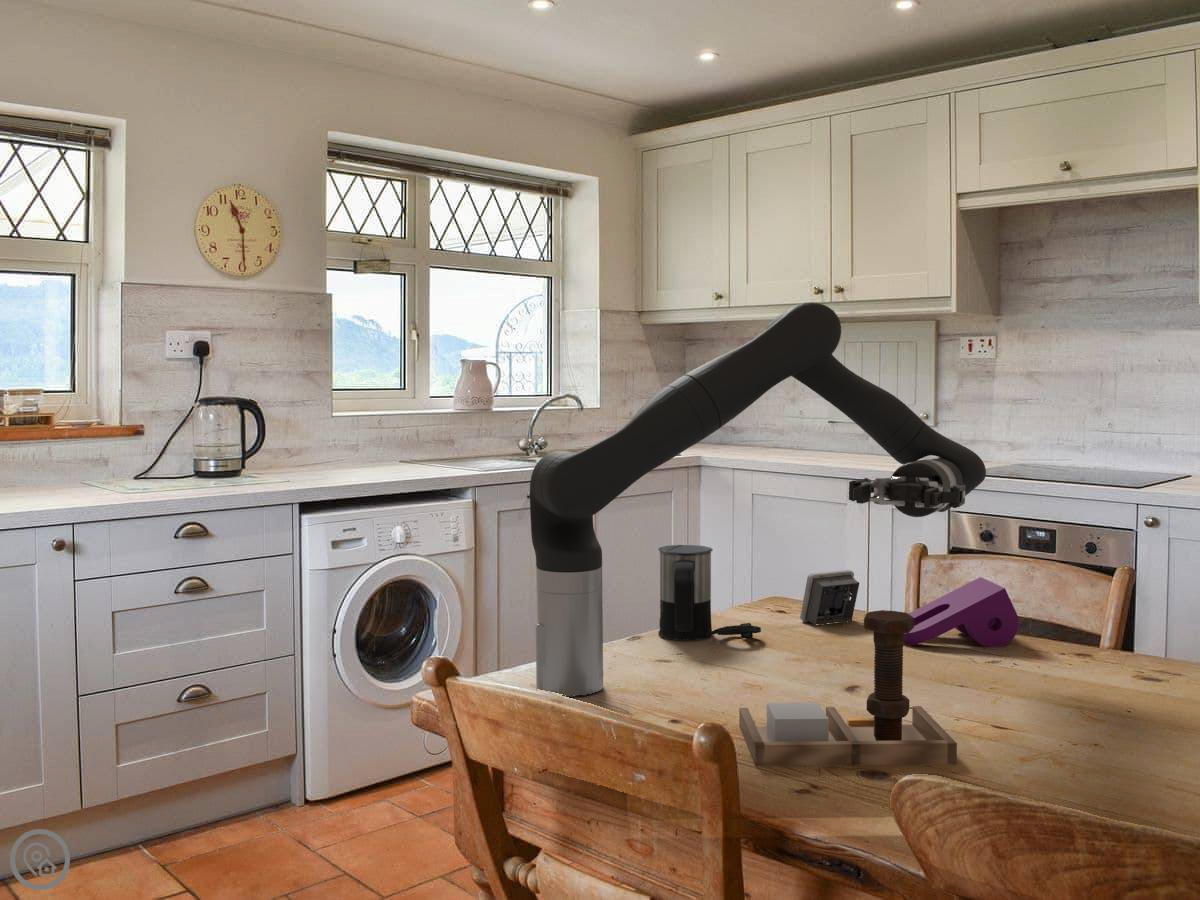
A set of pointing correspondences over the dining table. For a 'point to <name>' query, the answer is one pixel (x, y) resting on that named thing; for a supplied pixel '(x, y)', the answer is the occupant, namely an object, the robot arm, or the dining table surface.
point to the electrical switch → (829, 597)
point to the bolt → (888, 672)
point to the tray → (853, 743)
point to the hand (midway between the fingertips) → (892, 497)
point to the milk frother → (690, 595)
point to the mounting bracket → (968, 615)
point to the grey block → (796, 722)
